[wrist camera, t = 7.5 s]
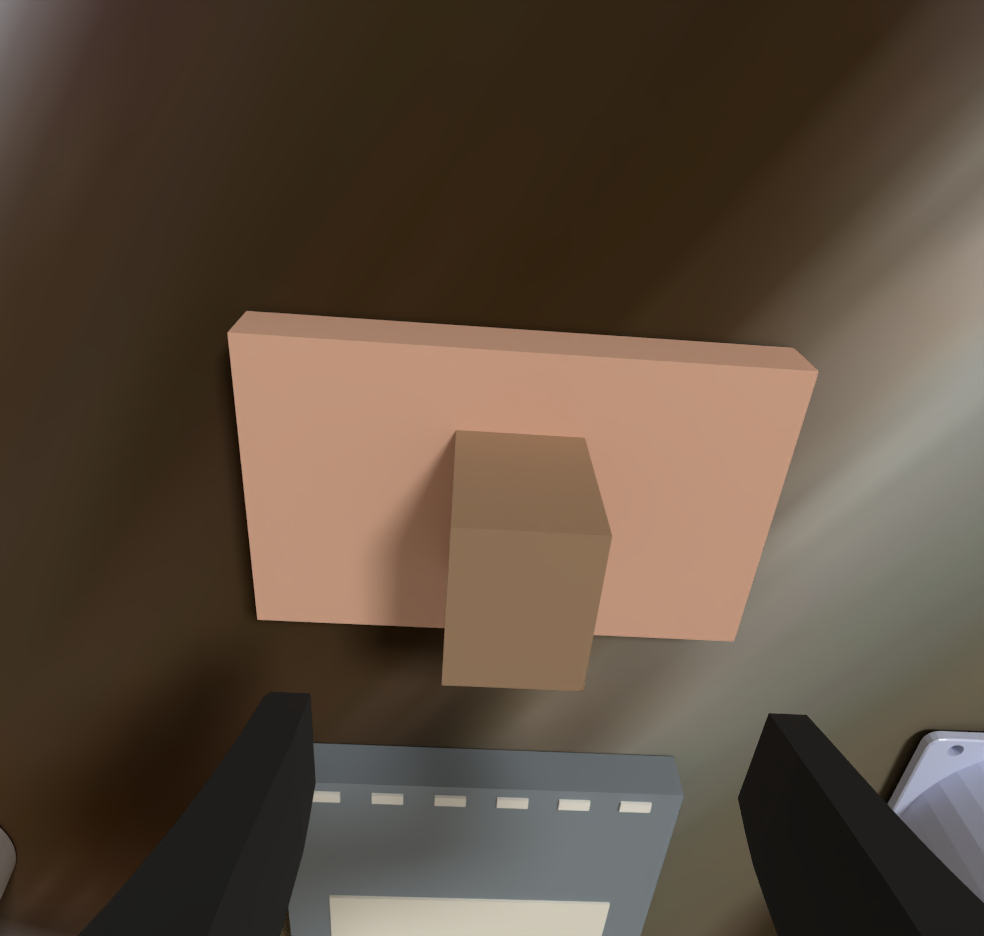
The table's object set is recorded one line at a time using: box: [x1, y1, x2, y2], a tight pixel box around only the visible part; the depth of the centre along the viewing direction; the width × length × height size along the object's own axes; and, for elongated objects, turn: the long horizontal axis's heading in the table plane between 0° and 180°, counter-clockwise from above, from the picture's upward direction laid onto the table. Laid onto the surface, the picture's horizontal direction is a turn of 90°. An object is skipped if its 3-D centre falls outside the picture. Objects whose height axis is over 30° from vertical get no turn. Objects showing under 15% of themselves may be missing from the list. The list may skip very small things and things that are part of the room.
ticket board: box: [288, 743, 684, 936], centre depth 27 cm, size 13×12×2 cm
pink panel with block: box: [227, 311, 819, 691], centre depth 17 cm, size 13×8×6 cm, turn 86°
